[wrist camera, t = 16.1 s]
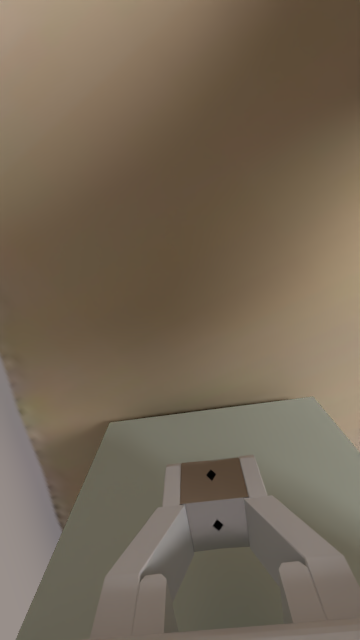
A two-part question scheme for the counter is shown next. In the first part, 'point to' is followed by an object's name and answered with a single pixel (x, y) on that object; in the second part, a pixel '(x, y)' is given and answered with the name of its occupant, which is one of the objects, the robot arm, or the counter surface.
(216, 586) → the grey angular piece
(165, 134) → the counter surface
